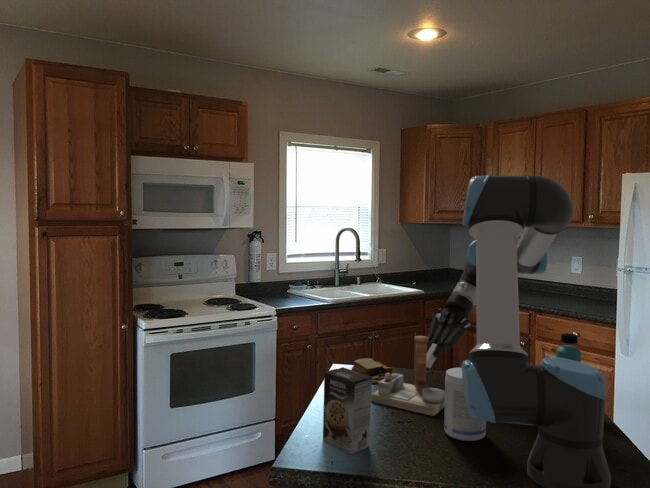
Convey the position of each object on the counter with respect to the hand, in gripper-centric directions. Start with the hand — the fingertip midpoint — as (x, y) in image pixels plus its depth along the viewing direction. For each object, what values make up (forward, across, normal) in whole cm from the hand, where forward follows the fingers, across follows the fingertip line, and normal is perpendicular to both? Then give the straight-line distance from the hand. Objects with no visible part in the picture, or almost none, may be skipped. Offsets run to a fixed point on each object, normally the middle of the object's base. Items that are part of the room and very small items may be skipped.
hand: (426, 365), depth 155 cm
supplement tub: (+16, +23, -4) cm, 28 cm away
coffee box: (+34, +9, -23) cm, 42 cm away
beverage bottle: (-9, +31, +21) cm, 38 cm away
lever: (+8, +4, +1) cm, 9 cm away
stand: (+11, +1, +1) cm, 11 cm away
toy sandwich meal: (+7, -20, +6) cm, 22 cm away
